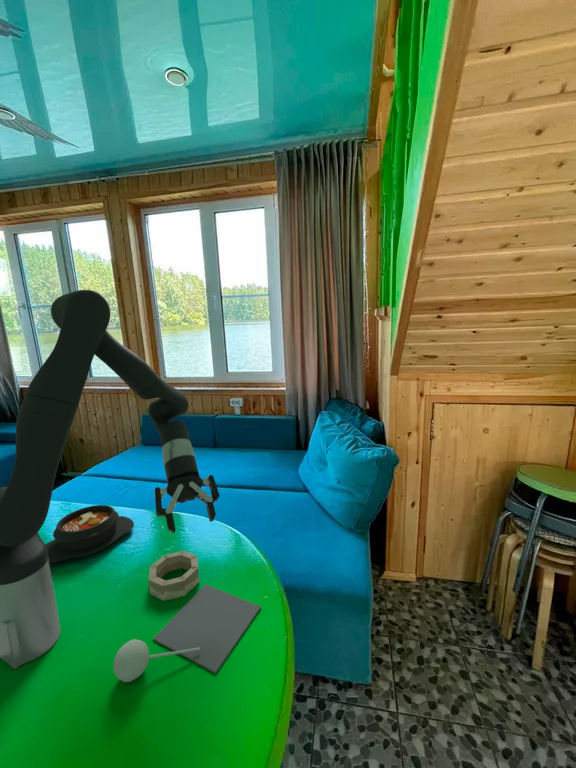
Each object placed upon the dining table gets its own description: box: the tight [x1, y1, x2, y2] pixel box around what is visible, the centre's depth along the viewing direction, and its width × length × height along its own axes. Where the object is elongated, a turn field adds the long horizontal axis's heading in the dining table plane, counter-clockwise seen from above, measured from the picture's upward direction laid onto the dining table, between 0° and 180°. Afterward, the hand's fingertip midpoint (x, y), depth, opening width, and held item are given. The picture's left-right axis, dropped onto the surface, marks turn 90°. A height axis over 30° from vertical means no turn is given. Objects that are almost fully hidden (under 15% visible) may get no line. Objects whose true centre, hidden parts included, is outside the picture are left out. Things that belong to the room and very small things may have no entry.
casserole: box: [45, 504, 135, 564], centre depth 100 cm, size 25×19×8 cm
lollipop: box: [113, 638, 200, 683], centre depth 62 cm, size 6×6×15 cm
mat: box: [152, 583, 262, 675], centre depth 71 cm, size 16×16×1 cm
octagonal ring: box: [148, 550, 200, 602], centre depth 83 cm, size 12×11×4 cm
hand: (193, 526), depth 75 cm, fingers open, 8 cm apart
